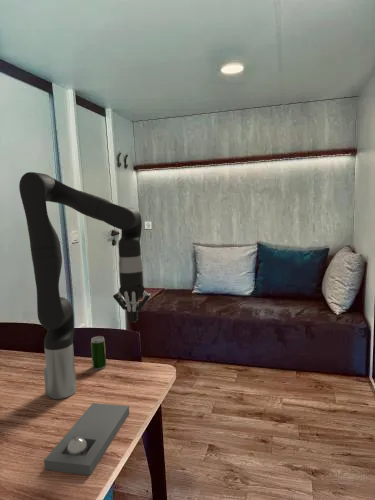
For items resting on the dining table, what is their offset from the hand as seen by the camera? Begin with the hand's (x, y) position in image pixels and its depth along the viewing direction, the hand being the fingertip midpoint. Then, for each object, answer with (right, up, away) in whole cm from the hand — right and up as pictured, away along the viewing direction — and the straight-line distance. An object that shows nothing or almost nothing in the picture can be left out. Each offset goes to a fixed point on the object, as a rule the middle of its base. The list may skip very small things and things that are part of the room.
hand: (133, 321), depth 117 cm
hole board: (-9, -28, -18) cm, 35 cm away
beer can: (-18, -24, +27) cm, 40 cm away
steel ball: (-10, -27, -26) cm, 39 cm away
